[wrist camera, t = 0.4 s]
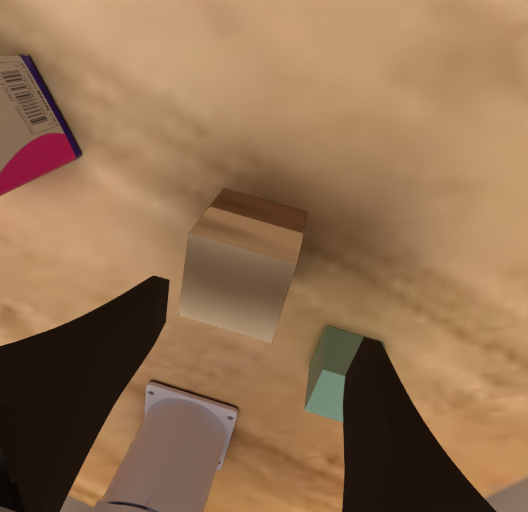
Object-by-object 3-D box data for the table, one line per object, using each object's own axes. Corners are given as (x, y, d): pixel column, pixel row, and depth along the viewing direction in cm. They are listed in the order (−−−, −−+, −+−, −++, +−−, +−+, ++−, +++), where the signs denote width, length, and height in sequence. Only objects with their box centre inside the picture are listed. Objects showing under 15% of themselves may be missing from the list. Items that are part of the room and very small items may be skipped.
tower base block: (286, 279, 24) (279, 307, 22) (212, 257, 25) (197, 283, 22) (307, 210, 22) (302, 234, 19) (224, 187, 22) (208, 207, 19)
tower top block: (280, 307, 22) (271, 343, 19) (198, 282, 22) (178, 315, 19) (303, 233, 19) (296, 264, 17) (209, 206, 19) (188, 232, 17)
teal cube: (362, 380, 27) (364, 429, 24) (309, 363, 28) (304, 410, 24) (384, 341, 25) (389, 389, 22) (326, 324, 25) (322, 369, 22)
